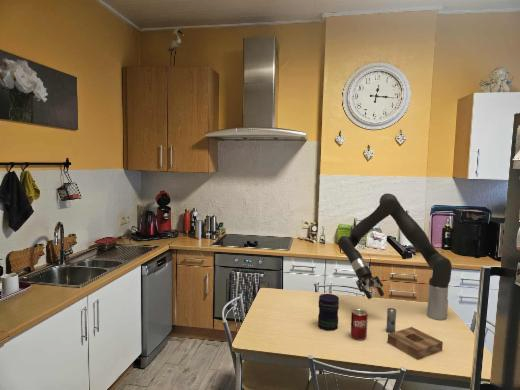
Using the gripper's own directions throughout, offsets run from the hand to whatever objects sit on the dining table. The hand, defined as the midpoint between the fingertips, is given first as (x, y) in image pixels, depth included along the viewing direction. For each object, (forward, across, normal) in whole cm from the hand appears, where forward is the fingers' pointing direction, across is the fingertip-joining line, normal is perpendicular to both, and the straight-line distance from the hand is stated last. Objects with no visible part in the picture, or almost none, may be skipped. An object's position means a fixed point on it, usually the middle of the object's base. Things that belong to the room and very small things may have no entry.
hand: (376, 297), depth 182 cm
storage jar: (+4, -24, +16) cm, 29 cm away
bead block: (+27, -2, -8) cm, 28 cm away
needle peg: (+17, 0, +3) cm, 17 cm away
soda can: (+15, -18, +5) cm, 24 cm away
